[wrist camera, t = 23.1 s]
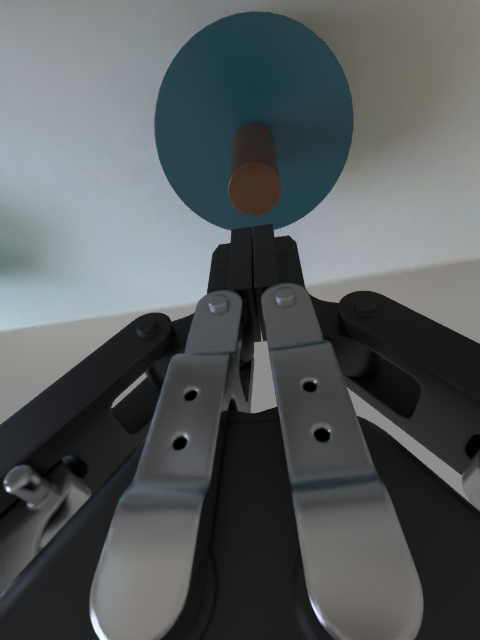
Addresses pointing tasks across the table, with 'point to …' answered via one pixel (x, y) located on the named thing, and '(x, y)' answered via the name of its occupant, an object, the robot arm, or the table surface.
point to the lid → (253, 121)
